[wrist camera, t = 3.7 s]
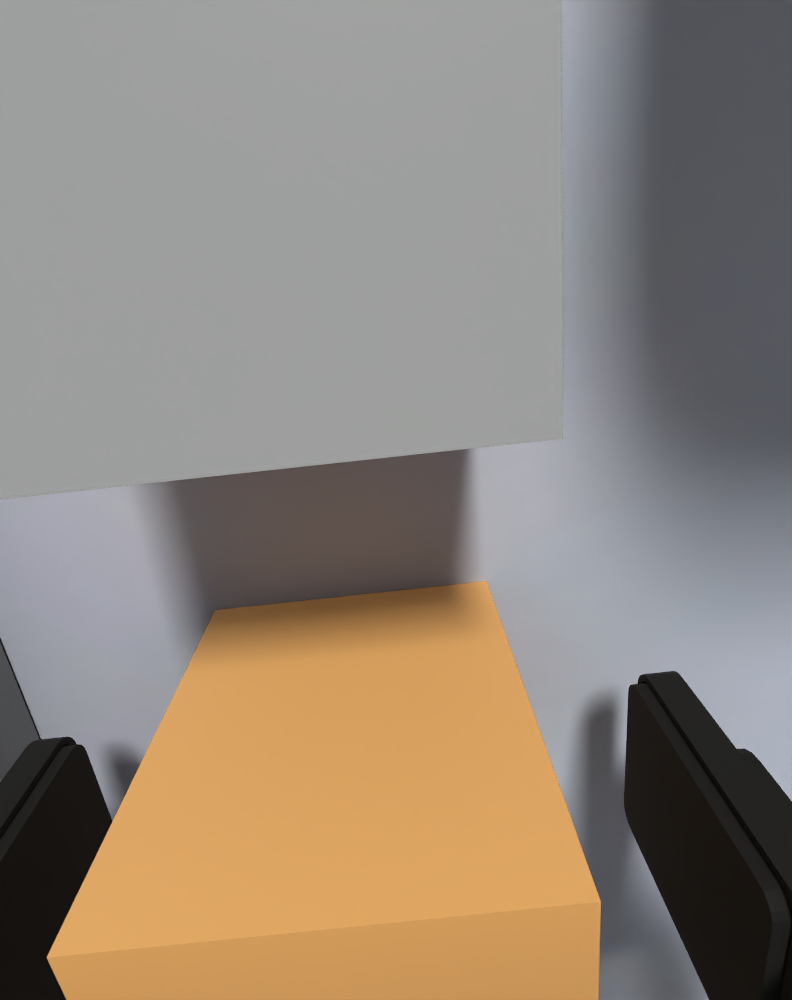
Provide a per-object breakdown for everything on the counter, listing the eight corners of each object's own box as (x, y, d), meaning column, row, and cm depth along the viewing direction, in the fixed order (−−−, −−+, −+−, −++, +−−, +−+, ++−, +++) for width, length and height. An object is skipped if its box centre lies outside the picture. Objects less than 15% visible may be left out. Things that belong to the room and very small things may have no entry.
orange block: (486, 579, 11) (601, 901, 5) (497, 786, 13) (593, 1192, 7) (215, 608, 11) (46, 958, 5) (265, 810, 13) (176, 1233, 7)
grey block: (449, -31, 8) (559, -491, 3) (471, 358, 10) (562, 438, 5) (69, 13, 8) (-389, -378, 3) (162, 392, 10) (-44, 504, 5)
